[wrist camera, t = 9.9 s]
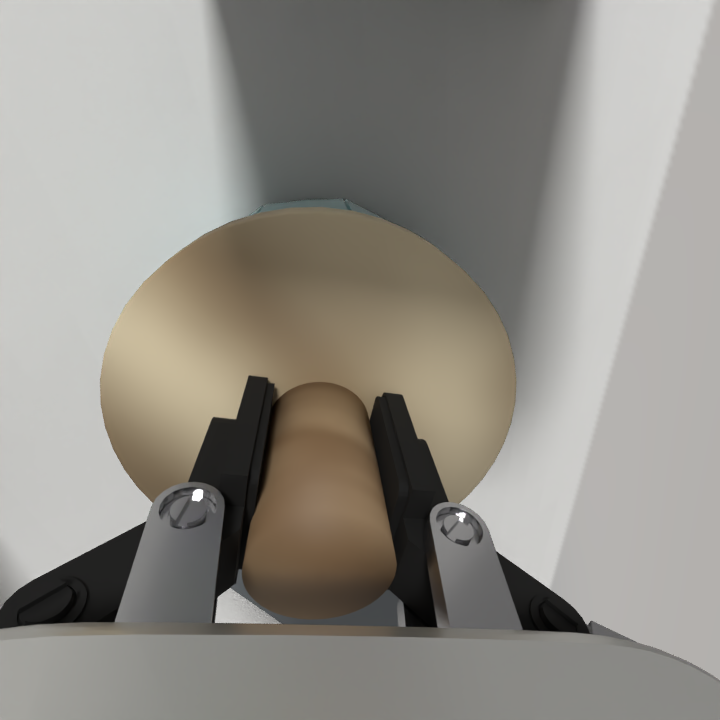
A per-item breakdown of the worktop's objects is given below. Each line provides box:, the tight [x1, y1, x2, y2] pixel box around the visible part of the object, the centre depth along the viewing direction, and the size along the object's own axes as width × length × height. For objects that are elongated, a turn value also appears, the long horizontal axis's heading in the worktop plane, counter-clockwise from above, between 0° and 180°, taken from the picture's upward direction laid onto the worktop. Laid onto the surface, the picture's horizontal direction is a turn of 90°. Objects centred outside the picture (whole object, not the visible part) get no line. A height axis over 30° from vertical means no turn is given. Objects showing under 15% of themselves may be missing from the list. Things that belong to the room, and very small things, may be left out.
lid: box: [100, 207, 516, 620], centre depth 11 cm, size 12×12×6 cm
